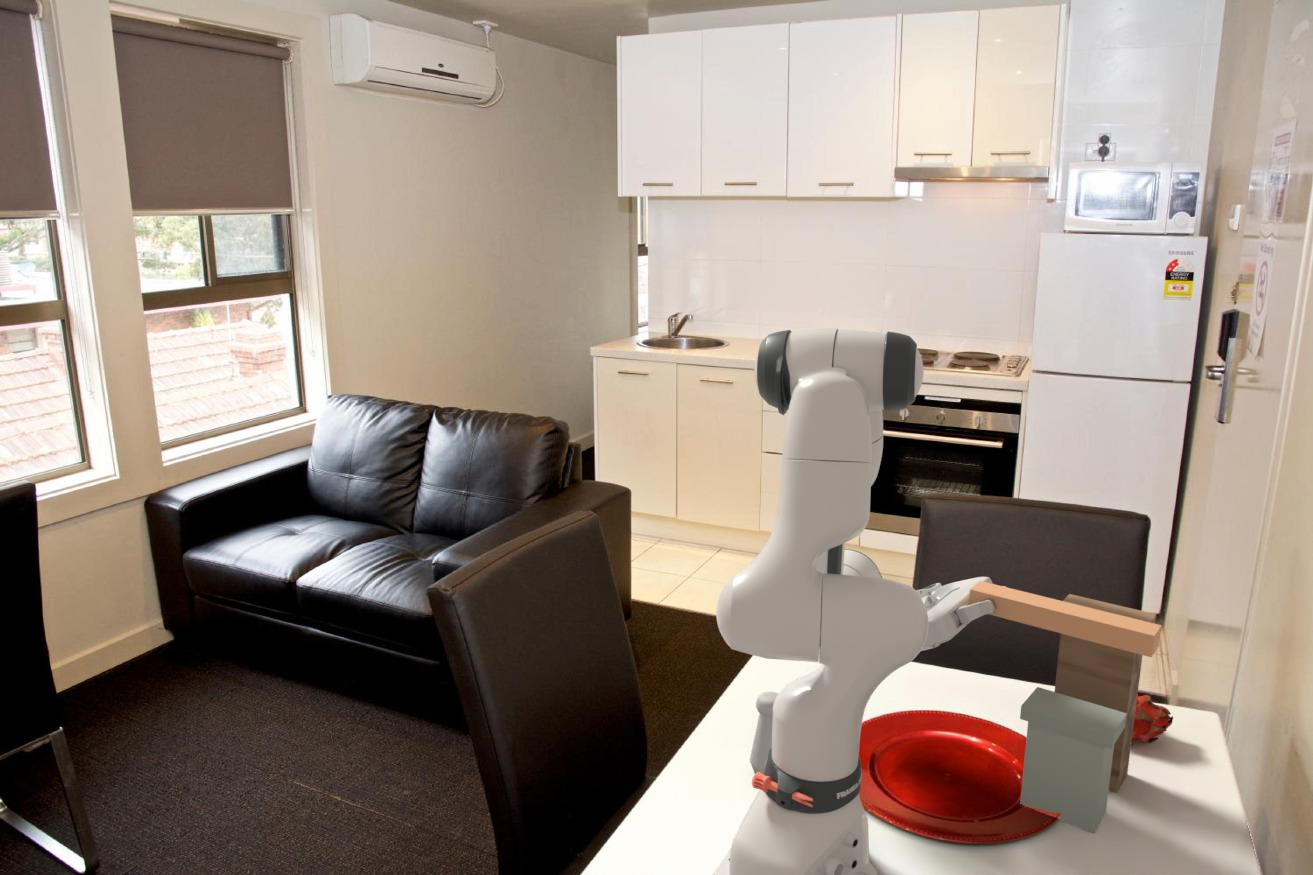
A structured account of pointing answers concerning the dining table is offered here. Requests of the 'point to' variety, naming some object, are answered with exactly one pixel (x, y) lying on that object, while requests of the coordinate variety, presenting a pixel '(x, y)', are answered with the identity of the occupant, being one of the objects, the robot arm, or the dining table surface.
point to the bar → (1070, 619)
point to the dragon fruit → (1149, 720)
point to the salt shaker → (763, 731)
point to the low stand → (1069, 756)
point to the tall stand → (1103, 678)
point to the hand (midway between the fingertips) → (1000, 598)
